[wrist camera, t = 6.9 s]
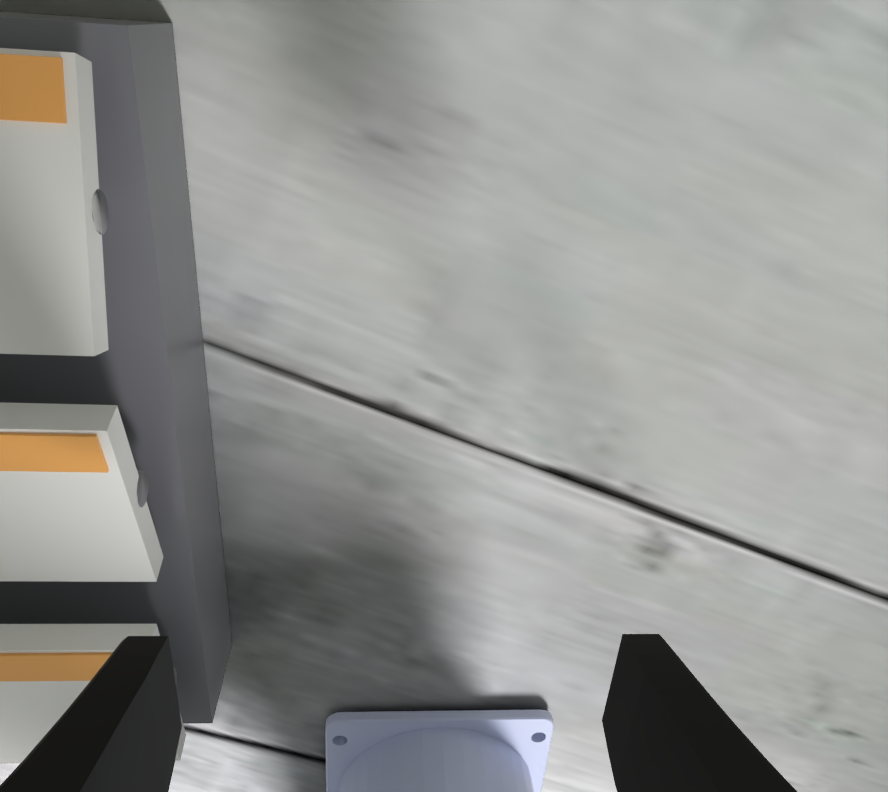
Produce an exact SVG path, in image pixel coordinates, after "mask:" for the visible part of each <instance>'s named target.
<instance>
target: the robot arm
mask: <svg viewBox="0 0 888 792" xmlns="http://www.w3.org/2000/svg"><path fill="white" fill-rule="evenodd" d="M602 722H603V727H604V732H605V737H606V742H607V748H608V753H609V758H610V762H611V767H612V771H613V776H614V781H615V785H616V788H617V792H797V791H796V790H795V789H794V788H793V787H792V786H791V785H790V784H789V783H788V782H787V781H786V780H785V779H784V777H783V776H782V775H781V774H780V773H779V772H778V771H777V770H776V769H775V768H774V767H773V766H772V765H771V764H770V762H769V761H768V760H767V759H766V758H765V757H764V756H763V755H762V754H761V753H760V752H759V750H758V749H757V748H756V747H755V746H754V745H753V744H752V743H751V741H750V740H749V739H748V738H747V737H746V736H745V735H744V734H743V733H742V731H741V730H740V729H739V728H738V727H737V726H736V725H735V724H734V722H733V721H732V720H731V719H730V718H729V717H728V716H727V714H726V713H725V712H724V711H723V710H722V709H721V707H720V706H719V705H718V704H717V703H716V701H715V700H714V699H713V698H712V697H711V696H710V694H709V693H708V692H707V691H706V690H705V688H704V687H703V686H702V685H701V684H700V682H699V681H698V680H697V679H696V678H695V676H694V675H693V674H692V673H691V672H690V670H689V669H688V668H687V667H686V666H685V664H684V663H683V662H682V661H681V660H680V658H679V657H678V656H677V655H676V653H675V652H674V651H673V650H672V649H671V647H670V646H669V645H668V644H667V643H666V641H665V640H664V639H663V638H662V637H661V636H660V635H659V634H623V635H622V639H621V643H620V648H619V652H618V656H617V660H616V664H615V669H614V673H613V677H612V681H611V685H610V690H609V694H608V698H607V702H606V706H605V711H604V715H603V719H602ZM181 729H182V723H181V716H180V710H179V703H178V696H177V690H176V683H175V676H174V670H173V663H172V656H171V650H170V643H169V636H127V637H126V638H125V639H124V640H123V641H121V643H120V644H119V645H118V646H117V648H116V649H115V650H114V652H113V653H112V654H111V655H110V657H109V658H108V659H107V661H106V662H105V663H104V664H103V666H102V667H101V668H100V669H99V671H98V672H97V673H96V675H95V676H94V677H93V678H92V680H91V681H90V682H89V683H88V685H87V686H86V687H85V688H84V690H83V691H82V692H81V693H80V694H79V696H78V697H77V698H76V699H75V700H74V702H73V703H72V704H71V705H70V707H69V708H68V709H67V710H66V711H65V713H64V714H63V715H62V716H61V717H60V719H59V720H58V721H57V722H56V723H55V724H54V726H53V727H52V728H51V729H50V730H49V731H48V732H47V734H46V735H45V736H44V737H43V738H42V739H41V741H40V742H39V743H38V744H37V745H36V746H35V748H34V749H33V750H32V751H31V752H30V753H29V754H28V756H27V757H26V758H25V759H24V760H23V761H22V762H21V764H20V765H19V766H18V767H17V768H16V769H15V770H14V771H13V772H12V773H11V775H10V776H9V777H8V778H7V779H6V780H5V781H4V782H3V783H2V784H1V785H0V792H168V790H169V785H170V781H171V776H172V772H173V767H174V763H175V758H176V753H177V748H178V743H179V738H180V733H181ZM553 729H554V722H553V718H552V715H551V714H550V712H548V711H546V710H462V711H383V712H337V713H334V714H332V715H330V716H329V717H328V718H327V720H326V727H325V744H326V792H541V790H542V785H543V780H544V775H545V770H546V765H547V759H548V754H549V749H550V744H551V739H552V734H553ZM339 735H341V736H339Z"/></svg>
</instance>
